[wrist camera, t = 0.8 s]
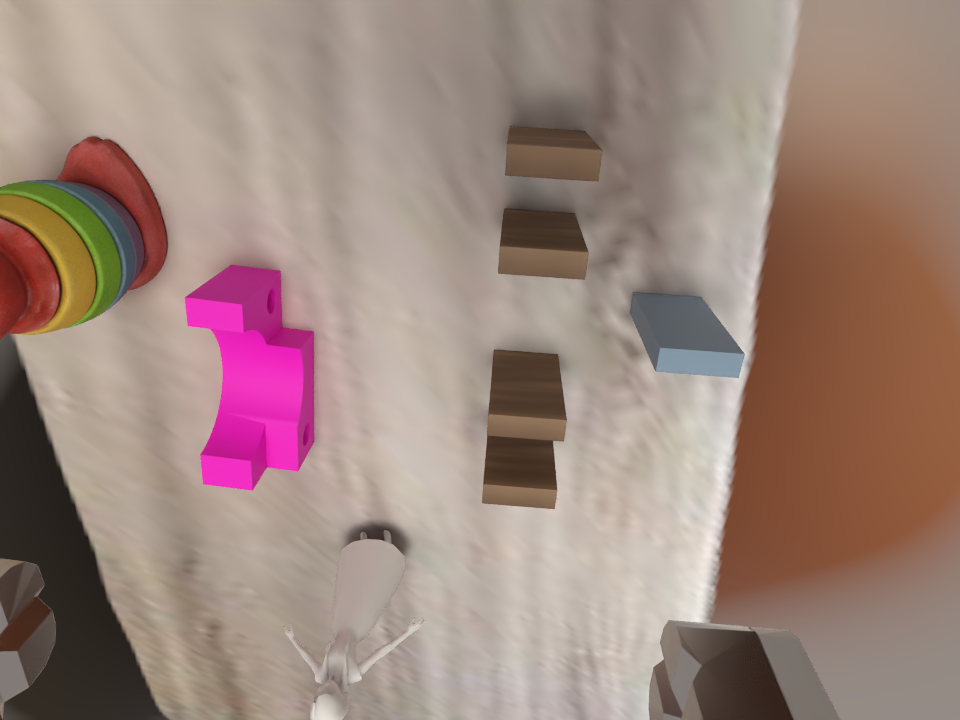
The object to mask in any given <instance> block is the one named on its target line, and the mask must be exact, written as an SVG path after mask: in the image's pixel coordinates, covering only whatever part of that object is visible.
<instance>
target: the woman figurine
mask: <svg viewBox="0 0 960 720" xmlns="http://www.w3.org/2000/svg"><path fill="white" fill-rule="evenodd" d="M360 539H361V540H359V541H354V542H352V543H350V544H348V545H347V546H345V547H344V548H342V550H341V553H340V556H339V559H338V563H337V572H336V581H335V590H334V600H333V610H332V631H333V634H334V637H335V640H336V641H335V642H334V644H333V645H332V646H331V642H329V643H328V644H327V646H326V648H325V652H326V655H325V659H324V661H323V663H322V664H320V663H319V662H318V661H317V660H316V658H315V657H314V656H313V654H312V653H311V652H310V651H309V650H308V649H307V648H306V647H303V646H302V644H301V643H300V642H299V641H298V640H297V639H296V638H295V636H294V631H293V629H292V627H291V625H289V626H290V631H289V630H287V629H286V628H285V626H283V627H284V632H285V633H286V635H287V636H288V637H289V639H290V640H291V641H292V643H293V644H294V645H295V647H296V648H297V649H298V651H299V652H300V653H301V655H302V657H303V658H304V660H305V661H306V662H307V663H308V664H309V665H310V666H311V668H312V670H313V672H314V674H315V675H316V676H315V681H316V682H318V683H320V684H321V686H320V687H319V688H318V690H317V693H316V695H315V697H314V698H315V699H314V702H312V703H311V705H310V708H311V712H310V718H311V720H342V719H343V718H344V716H345V715H346V714H347V712H348V711H349V709H350V699H349V687H348V685H349V684H352V683H355V682H358V681H360V680H362V679H361V676H362V675H363V674H364V673H365V672H366V671H367V670H368V669H369V668H370V667H371V666H372V665H373V664H374V663H375V662H376V661H378V660H379V659H380V658H381V657H383V656H384V655H386V654H387V653H389V652H390V651H391V650H392V649H393V648H394V647H395V646H397V645H398V644H399V643H400V642H402V641H403V640H404V639H405V638H407V637H408V636H409V635H410V634H412V633H413V632H415V631H417V630H418V629H419V628H420V627H421V626H422V624H423V623H424V622H425V620H423V619H424V618H422V619H421V620H420V621H418V622H417V623H413V621H414V620H415V617H414V618H413V619H412V620H411V622H410V623H409V625H408V627H407V631H405V632H404V633H403V634H401V635H400V636H398V637H397V638H396V639H394V640H393V641H391V642H390V643H387V644H386V645H384V646H382V647H380V648H379V649H377V650H376V651H375V652H374V653H372V654H371V655H370V656H369V657H368V658H366V659H365V660H363V661H362V662H360V663H359V664H357V656H356V644H357V643H358V642H360V641H361V640H363V639H364V638H365V637H366V636H367V635H368V634H369V633H370V632H371V630H372V629H373V628H374V626H375V625H376V623H377V621H378V620H379V618H380V616H381V615H382V613H383V611H384V609H385V608H386V606H387V604H388V603H389V601H390V599H391V598H392V596H393V594H394V592H395V590H396V588H397V585H398V583H399V581H400V579H401V577H402V575H403V573H404V568H405V557H404V556H403V555H402V553H401V552H400V551H399V550H398V549H397V548H396V547H395V546H394V545H393V544H391V534H390V532H389V531H386V530H384V541H382V540H373V539H367V534H366V533H365V532H361V534H360Z"/></svg>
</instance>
